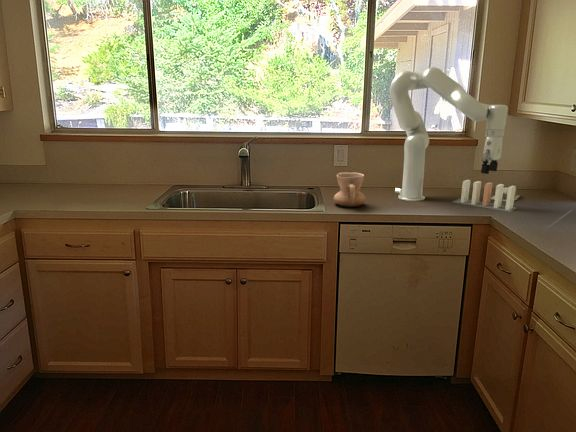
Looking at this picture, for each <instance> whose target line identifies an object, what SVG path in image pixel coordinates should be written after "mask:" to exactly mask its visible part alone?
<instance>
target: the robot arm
mask: <svg viewBox="0 0 576 432" xmlns="http://www.w3.org/2000/svg"><path fill="white" fill-rule="evenodd" d="M423 89H430V90H432V91H434V92H435V93H436V94H437V95H439V96H440V97H441V98H443V100H445V101H446V102H447V103H448V104H450V105H451V106H453V107H454V108H455V109H457V110H458V111H459V112H460V113H462V114H463V115H465V117H467V118H469V119H470V120H471V121H473V122H481V121H486V127H485V133H484V136H485V137H486V138H485V142H484V147H483V152H482V154H483V155H482V162H481V168H480V170H481V171H480V173H481V174H486V175H489V173H490V172H497V171H498V166H499V165H498V163H499V160H500V159H501V157H502V151H503V138H504V136H505V131H506V124H507V118H508V111H509V107H508V105H506V104H486V103H481V102H480V101H479V100H477V99H476V98H474V97H473V96H472V95H471V94H469V93H468V92H467V91H466V90H465V89H464V88H463V86H462V85H461V84H460V83H458V82H457V81H456V80H454V79H453V78H451V76H449V75H448V74H446V73H444V72H443V70H442V69H441V68H439V67H436V66H435V67H434V66H431V67H428V68H427V69H423V70H415V71H409V70H403V71H401V72H399V73H398V74H396V75H395V76H394V78H393V79H392V81H391V83H390V87H389V97H390V101H391V103H392V107H393V111H394V113H395V115H396V119H397V122H398V125H399V128H400V129H401V130H403V131H404V132H405V133H406V139H405V141H404V144H403V150H404V151H403V152H404V154H403V156H404V157H403V173H402V184H401V185H402V186H401V188H399V187H395V190H394V192H395V193H398V194H399V195H397V196H398V197H397V198H398V199H399V200H401V201H407V202H409V201H413V202H414V201H418V202H419V201H424V200H426V196H424V195H423V187H424V186H423V185H424V175H425V164H426V163H425V162H426V161H425V160H426V149H427V148H428V146H429V144H430V137H429V135H428V134H429V133H428V131H427V128H426V124H425V123H424V119H423V117H422V115H421V114H420V112H419V111H417V110H415V108H414V105H413V102H412V99H411V97H410V94H409V93H410V92H409V91H415V90H423Z"/></svg>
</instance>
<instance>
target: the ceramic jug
mask: <svg viewBox="0 0 576 432" xmlns="http://www.w3.org/2000/svg"><path fill="white" fill-rule="evenodd" d="M364 178H365V175H364V174H363V173H360V172H339V173H337V174H336V179H337V180H336V181H337V183H338V187H339V188H340V190H339V191H338V192H336V194H334V197H333V201H334V203H335V204H337V205H339V206H342V207H347V208H354V207H359V206H362V205H364V204H365V203H366V196H365V194H364V193H362V192H361V191H360V190H361V187H362V185H363V183H364Z"/></svg>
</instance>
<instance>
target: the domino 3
mask: <svg viewBox="0 0 576 432" xmlns="http://www.w3.org/2000/svg"><path fill="white" fill-rule="evenodd" d="M493 184H494V183H493V182H487V183H484V189H483V197H482V202H483V203H482V206H488V205H490V203H491V201H492V199H491V197H492V192H493Z"/></svg>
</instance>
